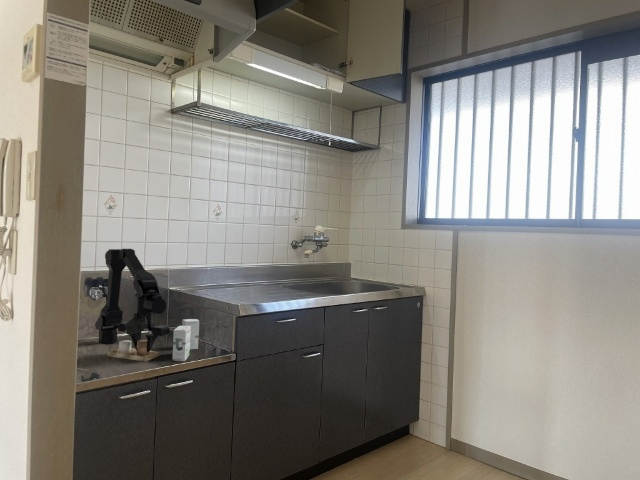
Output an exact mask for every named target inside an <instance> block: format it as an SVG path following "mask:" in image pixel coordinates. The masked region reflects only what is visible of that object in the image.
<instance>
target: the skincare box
mask: <svg viewBox="0 0 640 480" xmlns="http://www.w3.org/2000/svg"><path fill="white" fill-rule="evenodd" d="M181 322H182V323H181V326H191V334H190V350H195V349H196V350H198V349H199V334H200V320H199V319H196V318H187V319H185V318H183V319H182V321H181Z"/></svg>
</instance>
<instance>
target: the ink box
mask: <svg viewBox="0 0 640 480" xmlns="http://www.w3.org/2000/svg"><path fill="white" fill-rule="evenodd" d="M172 334H173V338H172V339H173V341H172V342H173V343H172V358H171V360H172V361H174V362H185V361H186V360H187V359H188V358H189V356H190V354H191V349H190V334H191V326H182V325H179V326H177V327H176V328H175V329H173V333H172Z"/></svg>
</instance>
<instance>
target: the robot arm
mask: <svg viewBox="0 0 640 480" xmlns="http://www.w3.org/2000/svg"><path fill="white" fill-rule="evenodd" d="M104 258H105V265H106V267H107V268H108V277H107V278H108V281H107V289H106V290H107V291H106V299H105V305H104V306H103V307H102V309H101V310H100V313H99V317H98V318H97V320H96V322H95V324H94V325H95V330H98V341H97V342H96V343H95V344H96V345H97V344H98V345H99V344H100V345H107V346H108V345H113V344H116V343H119V341H120V340H118V332H125V334H126V335H128V336H129V337H130V338H131V341H132V343H133V345H134V349H136V351H137V341H139V340H142V333H143V332H149V333H148V334H146V335H145V337H146V340H147V352H150V351H152V348H153V345H154V343H156V342H155V341H156V340H157V338H158V337H162V336H165V335H169V334H170V327H169V325H163V324H159V325H157V326H155V322H153V316H154V315H161V314H162V313H164V312H165V311H166V308H167V303H166V301H165V299H163V298H162V293H161V291H162V290H161V288H160V285H159V284H158V283H159V282H158V280H157V278H156V277H155V276H154V275H153V274H152V273H151V272H149V271H146V269H145V267H144V266H143V265H142V263H141V261H140V260H139V258H138V257H137V254H136V250H134V248H119V249H118V248H117V249H116V248H109V249H108V250H107V251H106V252H105V255H104ZM125 268H127V269H128V271H129V273H130V274H131V276H132V278H133V281H132V284H133V288H134V290H135V291H136V293H135V294H134V297H136V310H135V311H136V312H134V313H133V317H132V319H130V320H128V321H123V314H124V312H123V310H122V309H121V308H120V306H119V303H120V294H121V284H122V283H121V282H122V276H123V275H122V273H123V270H125Z"/></svg>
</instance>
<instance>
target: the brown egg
mask: <svg viewBox="0 0 640 480" xmlns="http://www.w3.org/2000/svg"><path fill="white" fill-rule="evenodd" d="M147 355H149V352H147V339H141V340H139V341H137V356H147Z"/></svg>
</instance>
